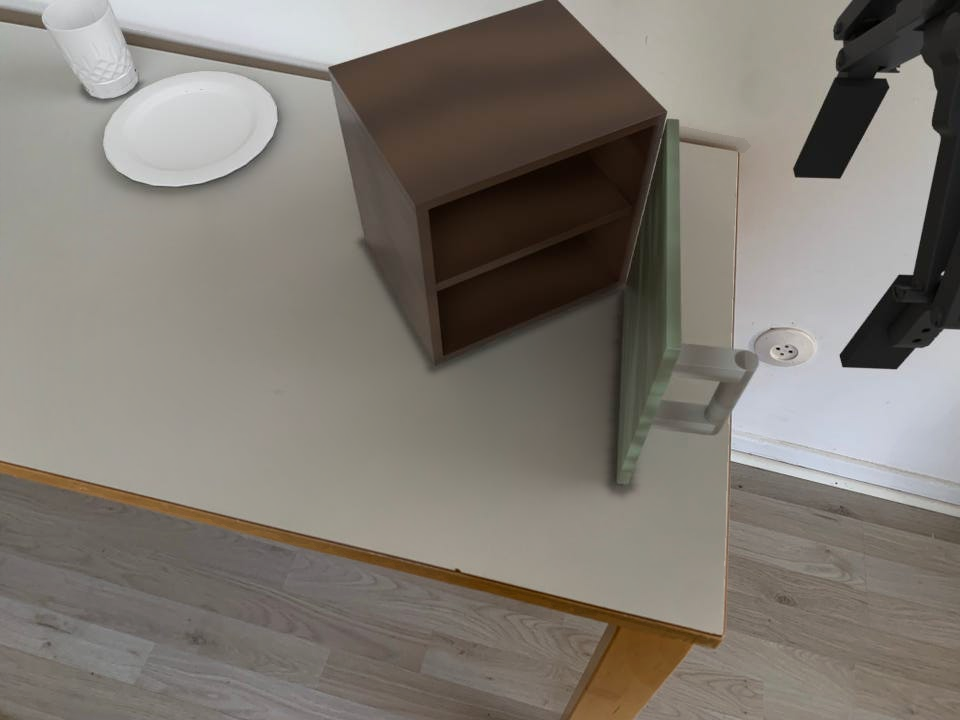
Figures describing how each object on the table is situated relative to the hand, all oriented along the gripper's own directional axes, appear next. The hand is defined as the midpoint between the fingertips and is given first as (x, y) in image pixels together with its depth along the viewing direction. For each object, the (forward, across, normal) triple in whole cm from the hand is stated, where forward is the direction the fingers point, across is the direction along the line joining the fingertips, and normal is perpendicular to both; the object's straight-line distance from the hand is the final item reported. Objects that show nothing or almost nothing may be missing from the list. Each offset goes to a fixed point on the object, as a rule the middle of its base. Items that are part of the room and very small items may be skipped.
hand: (839, 260), depth 41 cm
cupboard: (+29, -23, -20) cm, 42 cm away
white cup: (+29, -51, -72) cm, 93 cm away
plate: (+29, -42, -58) cm, 77 cm away
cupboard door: (+29, -9, -4) cm, 30 cm away
